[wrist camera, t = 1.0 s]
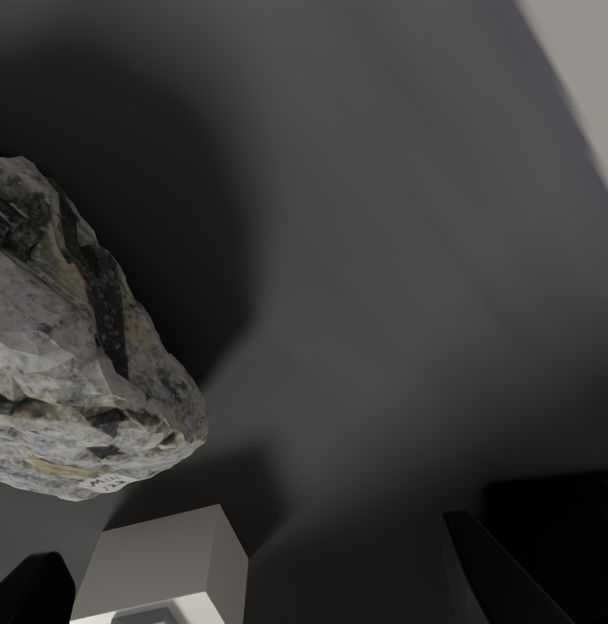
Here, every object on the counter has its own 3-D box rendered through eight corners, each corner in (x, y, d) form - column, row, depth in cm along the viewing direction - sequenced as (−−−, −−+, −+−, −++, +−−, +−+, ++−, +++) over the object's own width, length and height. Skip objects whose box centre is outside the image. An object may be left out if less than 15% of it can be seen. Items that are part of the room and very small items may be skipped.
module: (219, 502, 25) (203, 605, 20) (248, 557, 27) (239, 664, 22) (102, 530, 25) (61, 636, 21) (138, 582, 27) (107, 690, 23)
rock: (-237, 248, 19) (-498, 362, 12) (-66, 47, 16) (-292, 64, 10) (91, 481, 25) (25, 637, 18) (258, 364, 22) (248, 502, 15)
